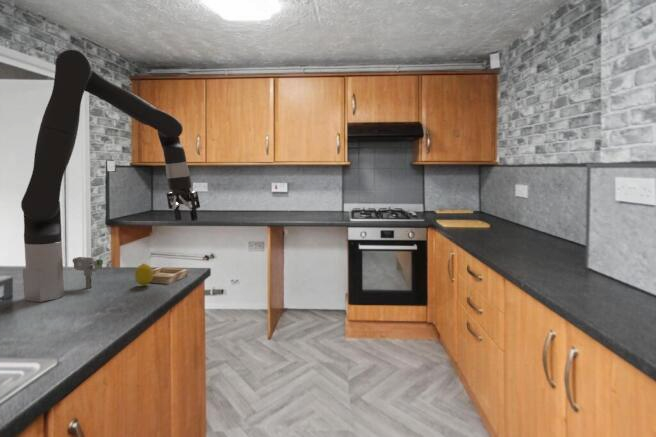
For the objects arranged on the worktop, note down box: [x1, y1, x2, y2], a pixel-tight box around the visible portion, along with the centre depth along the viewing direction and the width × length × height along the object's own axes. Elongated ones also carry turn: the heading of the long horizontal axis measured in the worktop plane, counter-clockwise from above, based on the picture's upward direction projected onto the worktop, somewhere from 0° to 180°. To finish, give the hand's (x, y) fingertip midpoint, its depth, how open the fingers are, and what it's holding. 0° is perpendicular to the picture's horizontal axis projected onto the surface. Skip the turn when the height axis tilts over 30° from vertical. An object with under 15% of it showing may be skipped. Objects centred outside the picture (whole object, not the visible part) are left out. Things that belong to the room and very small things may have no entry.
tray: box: [150, 266, 189, 285], centre depth 147 cm, size 12×12×2 cm
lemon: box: [134, 262, 153, 287], centre depth 136 cm, size 6×6×8 cm
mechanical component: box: [72, 256, 103, 289], centre depth 132 cm, size 3×10×10 cm, turn 79°
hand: (186, 220), depth 144 cm, fingers open, 8 cm apart
